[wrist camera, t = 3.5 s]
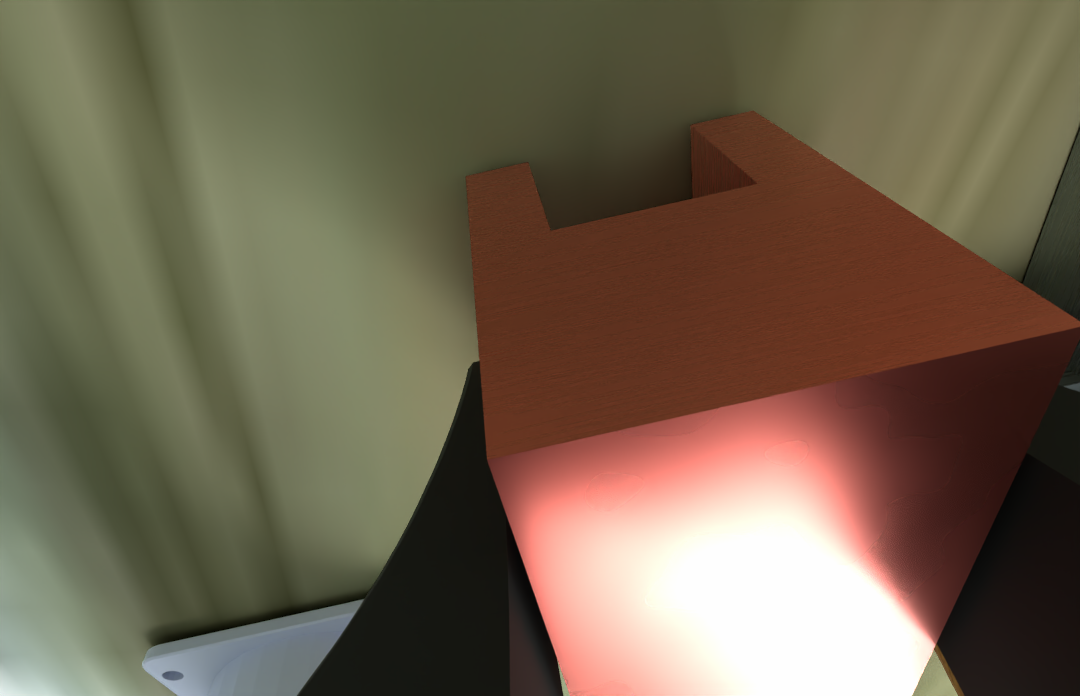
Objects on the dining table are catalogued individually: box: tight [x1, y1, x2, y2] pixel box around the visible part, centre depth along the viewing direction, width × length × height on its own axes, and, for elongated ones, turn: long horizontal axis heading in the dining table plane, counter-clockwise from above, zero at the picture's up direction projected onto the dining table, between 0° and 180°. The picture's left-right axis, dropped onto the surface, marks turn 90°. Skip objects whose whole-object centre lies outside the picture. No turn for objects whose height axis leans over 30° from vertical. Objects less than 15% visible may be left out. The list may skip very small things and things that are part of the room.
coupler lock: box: [466, 111, 1080, 696], centre depth 9 cm, size 7×5×6 cm, turn 10°
